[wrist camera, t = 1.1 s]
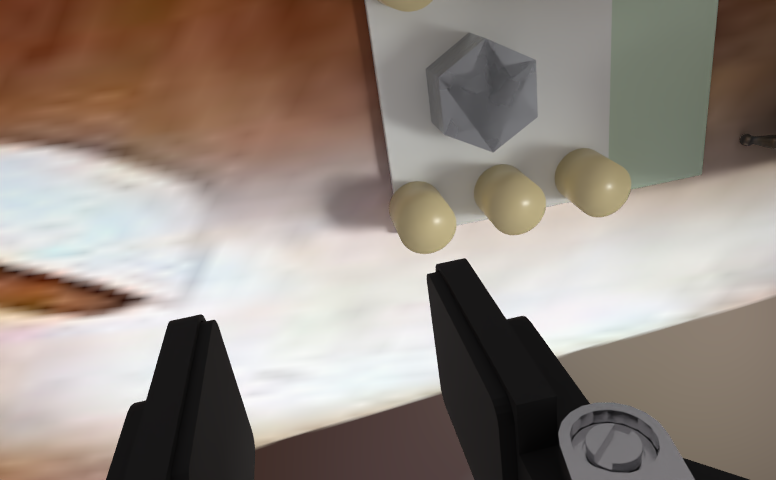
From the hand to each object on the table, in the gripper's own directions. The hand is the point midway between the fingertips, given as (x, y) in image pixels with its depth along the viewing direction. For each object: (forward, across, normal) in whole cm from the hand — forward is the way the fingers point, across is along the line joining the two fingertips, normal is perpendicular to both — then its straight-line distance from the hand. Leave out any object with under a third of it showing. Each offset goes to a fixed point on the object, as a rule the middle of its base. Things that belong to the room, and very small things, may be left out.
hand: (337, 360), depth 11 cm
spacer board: (+19, -12, 0) cm, 23 cm away
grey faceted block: (+19, -8, 0) cm, 21 cm away
